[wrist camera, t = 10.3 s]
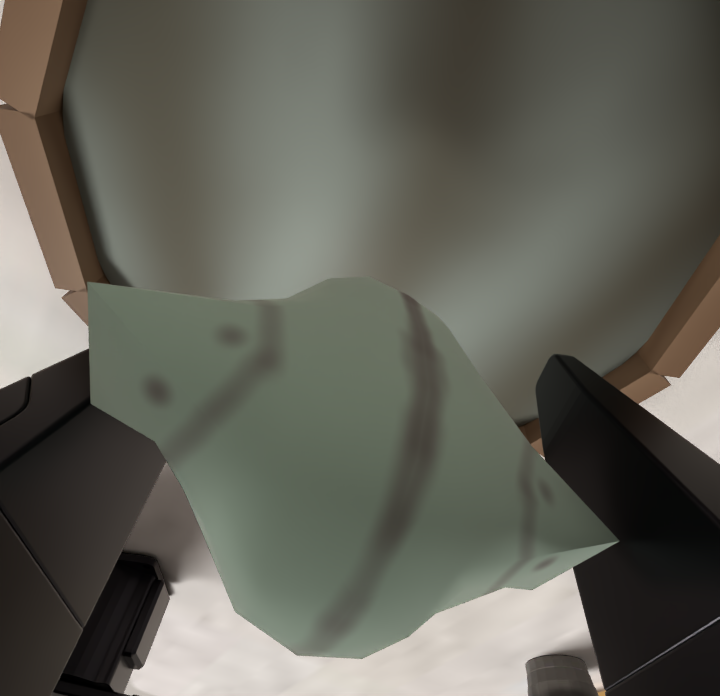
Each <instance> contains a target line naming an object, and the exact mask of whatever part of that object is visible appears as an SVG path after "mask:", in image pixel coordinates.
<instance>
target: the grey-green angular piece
mask: <svg viewBox="0 0 720 696" xmlns="http://www.w3.org/2000/svg"><path fill="white" fill-rule="evenodd" d="M87 289H88V326H89V363H90V400H91V404H92V405H94V406H96V407H97V408H99V409H101V410H102V411H104V412H106V413H107V414H109V415H111V416H112V417H114V418H116V419H118V420H119V421H121V422H123V423H124V424H126V425H128V426H129V427H131V428H133V429H134V430H136V431H138V432H140V433H141V434H143V435H145V436H146V437H148V438H150V439H151V440H153V441H155V443H156V444H157V446H158V448H159V449H160V451H161V453H162V454H163V456H164V458H165V459H166V461H167V463H168V465H169V466H170V468H171V470H172V471H173V473H174V475H175V476H176V478H177V480H178V481H179V483H180V485H181V486H182V488H183V490H184V492H185V495H186V497H187V499H188V501H189V504H190V506H191V508H192V510H193V513H194V515H195V517H196V519H197V522H198V524H199V526H200V528H201V531H202V533H203V536H204V538H205V541H206V543H207V545H208V548H209V550H210V553H211V555H212V557H213V560H214V562H215V565H216V567H217V569H218V572H219V574H220V577H221V579H222V581H223V584H224V586H225V589H226V591H227V594H228V596H229V598H230V601H231V603H232V606H233V608H234V610H235V612H236V613H237V614H239V615H240V616H242V617H243V618H244V619H246V620H247V621H249V622H250V623H252V624H253V625H254V626H256V627H257V628H259V629H260V630H262V631H263V632H264V633H266V634H267V635H269V636H270V637H272V638H273V639H274V640H276V641H277V642H279V643H280V644H281V645H283V646H284V647H286V648H287V649H289V650H290V651H291V652H293V653H294V654H296V655H298V656H317V657H336V658H355V659H363V658H365V657H367V656H369V655H371V654H373V653H375V652H378V651H380V650H382V649H384V648H386V647H388V646H390V645H392V644H394V643H396V642H399V641H401V640H403V639H405V638H407V637H409V636H410V635H411V634H412V633H413V632H414V631H416V630H417V629H418V628H419V627H420V626H421V625H423V624H424V623H425V622H426V621H427V620H428V619H430V618H431V617H432V616H433V615H434V614H436V613H438V612H441V611H444V610H446V609H449V608H452V607H454V606H457V605H460V604H462V603H465V602H468V601H470V600H473V599H475V598H478V597H481V596H483V595H486V594H489V593H491V592H494V591H497V590H499V589H502V588H505V587H506V588H516V589H526V590H533V589H535V588H537V587H538V586H540V585H542V584H544V583H546V582H547V581H549V580H551V579H553V578H555V577H556V576H558V575H560V574H562V573H564V572H565V571H567V570H569V569H571V568H572V567H574V566H576V565H578V564H580V563H581V562H583V561H585V560H587V559H589V558H590V557H592V556H594V555H596V554H598V553H599V552H601V551H603V550H605V549H607V548H608V547H610V546H612V545H614V544H616V543H617V542H619V540H618V539H617V537H616V536H615V535H614V534H613V533H612V532H611V531H610V530H609V529H608V528H607V527H606V526H605V525H604V523H603V522H602V521H601V520H600V519H599V518H598V517H597V516H596V515H595V514H594V513H593V512H592V511H591V509H590V508H589V507H588V506H587V505H586V504H585V503H584V502H583V501H582V500H581V499H580V498H579V497H578V495H577V494H576V493H575V492H574V491H573V490H572V489H571V488H570V487H569V486H568V485H567V484H566V483H565V481H564V480H563V479H562V478H561V477H560V476H559V475H558V474H557V473H556V472H555V471H554V470H553V469H552V467H551V466H550V465H549V464H548V463H547V462H546V461H545V460H544V459H543V458H542V457H541V456H540V455H539V453H538V452H537V451H536V450H535V449H534V448H533V447H532V446H531V444H530V443H529V442H528V440H527V439H526V438H525V436H524V435H523V433H522V432H521V431H520V429H519V428H518V427H517V425H516V424H515V423H514V421H513V420H512V418H511V417H510V416H509V414H508V413H507V412H506V410H505V409H504V408H503V406H502V405H501V403H500V402H499V401H498V399H497V398H496V397H495V395H494V394H493V392H492V391H491V390H490V388H489V387H488V386H487V384H486V383H485V382H484V380H483V379H482V377H481V376H480V375H479V373H478V372H477V370H476V369H475V367H474V366H473V364H472V363H471V361H470V360H469V358H468V357H467V355H466V354H465V352H464V351H463V349H462V348H461V346H460V345H459V343H458V342H457V340H456V339H455V337H454V336H453V334H452V333H451V331H450V330H449V328H448V327H447V326H446V325H445V324H444V323H443V321H442V320H441V319H440V318H439V317H438V316H437V315H435V314H434V313H433V312H431V311H430V310H428V309H427V308H426V307H424V306H423V305H421V304H420V303H419V302H417V301H416V300H415V299H413V298H412V297H410V296H409V295H407V294H405V293H403V292H401V291H398V290H396V289H394V288H392V287H390V286H388V285H386V284H384V283H382V282H380V281H377V280H375V279H373V278H371V277H349V278H329V279H327V280H325V281H322V282H320V283H318V284H316V285H314V286H312V287H310V288H308V289H306V290H303V291H301V292H299V293H297V294H295V295H293V296H291V297H289V298H285V299H261V300H237V301H233V300H226V299H218V298H210V297H202V296H195V295H187V294H179V293H171V292H164V291H156V290H148V289H140V288H133V287H125V286H117V285H109V284H102V283H94V282H87Z"/></svg>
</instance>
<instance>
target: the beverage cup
mask: <svg viewBox="0 0 720 696" xmlns="http://www.w3.org/2000/svg"><path fill="white" fill-rule="evenodd" d="M526 671H527V681H528V696H598V693H597V691H596V688H595V687H594V685H593V682H592V680H591V677H590V675H589V674H588V670H587V667H586V664H585V662H584V661H583V660H581V659H579V658H575V657H571V656H563V655H550V656H542V657H538V658H534V659H532V660H530V661H528V662H527V663H526Z"/></svg>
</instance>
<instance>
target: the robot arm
mask: <svg viewBox="0 0 720 696" xmlns="http://www.w3.org/2000/svg"><path fill="white" fill-rule="evenodd" d="M535 394H536V402H537V409H538V417H539V424H540V432H541V439H542V446H543V452H544V457H545V461H546V462H547V463H548V464H549V465H550V466H551V467H552V469H553V470H554V471H555V472H556V473H557V474H558V475H559V476H560V477H561V478H562V479H563V480H564V481H565V483H566V484H567V485H568V486H569V487H570V488H571V489H572V490H573V491H574V492H575V493H576V494H577V495H578V497H579V498H580V499H581V500H582V501H583V502H584V503H585V504H586V505H587V506H588V507H589V508H590V509H591V511H592V512H593V513H594V514H595V515H596V516H597V517H598V518H599V519H600V520H601V521H602V522H603V523H604V525H605V526H606V527H607V528H608V529H609V530H610V531H611V532H612V533H613V534H614V535H615V536H616V537H617V539H618V540H619V542H617V543H616V544H614V545H612V546H610V547H608V548H607V549H605V550H603V551H601V552H599V553H598V554H596V555H594V556H592V557H590V558H589V559H587V560H585V561H583V562H581V563H580V564H578V565H576V566H574V567H573V570H574V574H575V578H576V582H577V586H578V589H579V593H580V597H581V601H582V605H583V609H584V613H585V617H586V621H587V624H588V628H589V632H590V636H591V640H592V644H593V648H594V652H595V655H596V659H597V663H598V667H599V671H600V675H601V679H602V683H603V687H604V689H605V690H606V692H605V695H606V696H720V464H719V463H717V462H716V461H715V460H713V459H712V458H710V457H709V456H708V455H706V454H705V453H704V452H702V451H701V450H700V449H698V448H697V447H696V446H694V445H693V444H691V443H690V442H689V441H687V440H686V439H685V438H683V437H682V436H681V435H679V434H678V433H677V432H675V431H674V430H673V429H671V428H670V427H668V426H667V425H666V424H664V423H663V422H662V421H660V420H659V419H658V418H656V417H655V416H654V415H652V414H651V413H650V412H648V411H647V410H645V409H644V408H643V407H641V406H640V405H639V404H637V403H636V402H635V401H633V400H632V399H631V398H629V397H628V396H627V395H625V394H624V393H622V392H621V391H620V390H618V389H617V388H616V387H614V386H613V385H612V384H610V383H609V382H608V381H606V380H605V379H603V378H602V377H601V376H599V375H598V374H597V373H595V372H594V371H593V370H591V369H590V368H589V367H587V366H586V365H585V364H583V363H582V362H580V361H579V360H578V359H576V358H575V357H573V356H570V355H563V354H553V355H551V356H550V358H549V359H548V361H547V363H546V365H545V367H544V369H543V371H542V373H541V374H540V376H539V378H538V380H537V383H536V387H535ZM165 463H166V459H165V458H164V456H163V454H162V453H161V451H160V449H159V448H158V446H157V444H156V443H155V441H153V440H151V439H150V438H148V437H146V436H145V435H143V434H141V433H140V432H138V431H136V430H134V429H133V428H131V427H129V426H128V425H126V424H124V423H123V422H121V421H119V420H118V419H116V418H114V417H112V416H111V415H109V414H107V413H106V412H104V411H102V410H101V409H99V408H97V407H96V406H94V405H92V404H91V400H90V363H89V349H87V350H84V351H82V352H80V353H78V354H76V355H74V356H71V357H69V358H67V359H65V360H63V361H61V362H58V363H56V364H54V365H52V366H50V367H47V368H45V369H43V370H41V371H39V372H37V373H34V374H33V375H32V376H31V377H25V378H23V379H21V380H19V381H17V382H15V383H13V384H10V385H8V386H6V387H4V388H2V389H0V696H130V695H126V694H123V693H124V691H125V688H126V686H127V683H128V681H129V678H130V676H131V674H132V671H133V669H138V670H139V669H140V668H142V667H143V666H144V664H145V662H146V659H147V656H148V654H149V651H150V649H151V646H152V644H153V641H154V638H155V636H156V633H157V631H158V628H159V626H160V623H161V620H162V618H163V615H164V613H165V610H166V608H167V605H168V602H169V600H170V597H169V594H168V592H167V589H166V586H165V583H164V580H163V577H162V574H161V571H160V568H159V565H158V562H157V560H156V559H154V558H152V557H148V556H140V555H132V554H124V553H121V552H122V550H123V548H124V546H125V544H126V542H127V540H128V538H129V536H130V533H131V531H132V529H133V527H134V525H135V523H136V521H137V519H138V517H139V515H140V513H141V511H142V509H143V507H144V505H145V503H146V501H147V499H148V497H149V495H150V493H151V491H152V489H153V487H154V485H155V483H156V481H157V479H158V477H159V475H160V473H161V471H162V469H163V467H164V465H165ZM133 696H138V695H133Z"/></svg>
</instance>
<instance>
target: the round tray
mask: <svg viewBox="0 0 720 696" xmlns="http://www.w3.org/2000/svg"><path fill="white" fill-rule="evenodd" d="M0 99H1V100H3V101H4V102H6V103H7V104H3V105H0V134H1V137H2V140H3V142H4V145H5V148H6V151H7V154H8V157H9V159H10V162H11V165H12V168H13V171H14V173H15V176H16V179H17V182H18V185H19V188H20V190H21V193H22V196H23V199H24V202H25V204H26V207H27V210H28V213H29V216H30V219H31V221H32V224H33V227H34V230H35V233H36V236H37V238H38V241H39V244H40V247H41V250H42V252H43V255H44V258H45V261H46V264H47V267H48V269H49V272H50V275H51V278H52V281H53V283H54V286H55V288H58V289H65V290H70V291H69V292H68V293H66V294H65V295H64V296H63V297H62V299H63V300H64V301H65V302H66V303H67V304H68V305H69V306H70V308H71V309H72V310H73V311H74V312H75V313H76V314H77V315H78V316H79V317H80V318H81V319H82V320H83V321H84V322H85V323H86V325H87V326H88V289H87V282H94V283H102V284H109V285H117V286H125V287H133V288H140V289H148V290H156V291H164V292H171V293H179V294H187V295H195V296H202V297H210V298H218V299H226V300H233V301H237V300H261V299H285V298H289V297H291V296H293V295H295V294H297V293H299V292H301V291H303V290H306V289H308V288H310V287H312V286H314V285H316V284H318V283H320V282H322V281H325V280H327V279H329V278H349V277H371V278H373V279H375V280H377V281H380V282H382V283H384V284H386V285H388V286H390V287H392V288H394V289H396V290H398V291H401V292H403V293H405V294H407V295H409V296H410V297H412V298H413V299H415V300H416V301H417V302H419V303H420V304H421V305H423V306H424V307H426V308H427V309H428V310H430V311H431V312H433V313H434V314H435V315H437V316H438V317H439V318H440V319H441V320H442V321H443V323H444V324H445V325H446V326H447V327H448V328H449V330H450V331H451V333H452V334H453V336H454V337H455V339H456V340H457V342H458V343H459V345H460V346H461V348H462V349H463V351H464V352H465V354H466V355H467V357H468V358H469V360H470V361H471V363H472V364H473V366H474V367H475V369H476V370H477V372H478V373H479V375H480V376H481V377H482V379H483V380H484V382H485V383H486V384H487V386H488V387H489V388H490V390H491V391H492V392H493V394H494V395H495V397H496V398H497V399H498V401H499V402H500V403H501V405H502V406H503V408H504V409H505V410H506V412H507V413H508V414H509V416H510V417H511V418H512V420H513V421H514V423H515V424H516V425H517V427H518V428H519V429H520V431H521V432H522V433H523V435H524V436H525V438H526V439H527V440H528V442H529V443H530V444H531V446H532V447H533V448H534V449H535V450H536V451H537V452H538V453H539V454H540V455H542V456H543V457H544V452H543V446H542V439H541V432H540V424H539V417H538V409H537V402H536V394H535V387H536V383H537V380H538V378H539V376H540V374H541V373H542V371H543V369H544V367H545V365H546V363H547V361H548V359H549V358H550V356H551V355H553V354H563V355H570V356H573V357H575V358H576V359H578V360H579V361H580V362H582V363H583V364H585V365H586V366H587V367H589V368H590V369H591V370H593V371H594V372H595V373H597V374H598V375H599V376H601V377H602V378H603V379H605V380H606V381H608V382H609V383H610V384H612V385H613V386H614V387H616V388H617V389H618V390H620V391H621V392H622V393H624V394H625V395H627V396H628V397H629V398H631V399H632V400H633V401H635V402H636V403H637V404H639V403H640V402H642V401H644V400H646V399H647V398H649V397H651V396H653V395H654V394H656V393H658V392H660V391H661V390H663V389H665V388H667V387H668V386H670V385H671V384H670V383H669V382H668V380H667V379H666V378H665V376H670V377H677V378H680V377H681V375H682V374H683V373H684V372H685V370H686V369H687V368H688V367H689V365H690V364H691V363H692V362H693V360H694V359H695V358H696V357H697V355H698V354H699V353H700V351H701V350H702V349H703V348H704V346H705V345H706V344H707V343H708V341H709V340H710V339H711V338H712V336H713V335H714V334H715V332H716V331H717V330H718V329H719V327H720V0H5V3H4V9H3V15H2V20H1V26H0ZM88 327H89V326H88Z"/></svg>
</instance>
